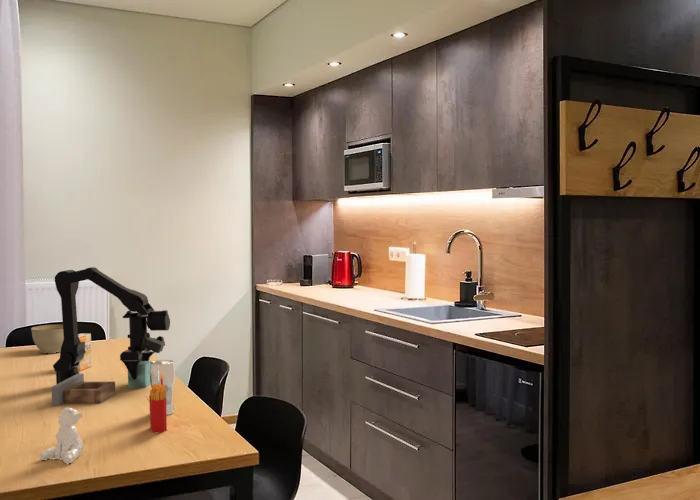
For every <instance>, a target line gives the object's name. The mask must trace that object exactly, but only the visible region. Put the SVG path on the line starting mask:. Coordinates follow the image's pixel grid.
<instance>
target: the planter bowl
mask: <svg viewBox="0 0 700 500" xmlns="http://www.w3.org/2000/svg"><path fill="white" fill-rule="evenodd" d="M30 331H31V336H32V337H31V338H32V341H33V343H34V344H35V346H36V348H37V349H38V350H39V352H41V353H40V354H46V353H48V354H57V353H56V352H59V353H60V351H61V346H62V343H63V340H64V335H63V324H45V325H38V326H33V327H31V328H30Z"/></svg>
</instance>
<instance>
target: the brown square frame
mask: <svg viewBox="0 0 700 500" xmlns="http://www.w3.org/2000/svg"><path fill="white" fill-rule="evenodd" d="M114 395H116V381H84V382H79V383H77V384H75V385H73V386H71V387H69V388H67V389H66V390H64V403H63V404H102V403H103V402H104V401H107V400H108V399H109V398H111V397H113V396H114Z"/></svg>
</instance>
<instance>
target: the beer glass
mask: <svg viewBox="0 0 700 500" xmlns="http://www.w3.org/2000/svg"><path fill="white" fill-rule="evenodd" d="M174 363H175V362H174V360H171V359H159V360H153V361H151V363H150V383H151V384H150V388H151V389H150V390H152V385H153V384H157V385H158V384H159V386H160V385H161V384H162V385H165V386H166V387H165V388H166V392H165V397H166V416H168V415H172V414H174V413H175V408H174V404H173V398H174V397H173V396H174V394H173V393H174V388H175V378H176V375H175V374H176V373H175V366H174V365H175V364H174Z"/></svg>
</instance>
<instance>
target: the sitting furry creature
mask: <svg viewBox="0 0 700 500" xmlns="http://www.w3.org/2000/svg"><path fill="white" fill-rule="evenodd" d="M82 417H83V412H79V411H78V410H77V409H75V408H73V407H70V406H69V407H64V408H63V409H62V410H61V412H60V414H59V417H58V418H59V419H58V420H59V421H58V423H59V426H60V427H59V428H58V431H57V433H56V434H55V438H56V446H52V447H48V448H46V449H44V450H43V451H42V452H39V455H38V456H39V459H40V460H41V459H42V460H45V459H50V458H55V459H60V458H61V460H64V461H63V463H64V464H65V463H71V462H73V461H74V460H75V461H76V460H77V459H78V458H77V457H80V455H81V454H82V453H83V448H84V442H83V439H81V436H80V434H79V430H78V429H77V427H76V426H75V425H76V424H77V423H78V422H79V420H80V419H81V418H82ZM76 458H77V459H76ZM42 460H41V461H42ZM61 460H60V461H61ZM75 461H74V462H75ZM74 462H73V463H74ZM71 464H72V463H71Z"/></svg>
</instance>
